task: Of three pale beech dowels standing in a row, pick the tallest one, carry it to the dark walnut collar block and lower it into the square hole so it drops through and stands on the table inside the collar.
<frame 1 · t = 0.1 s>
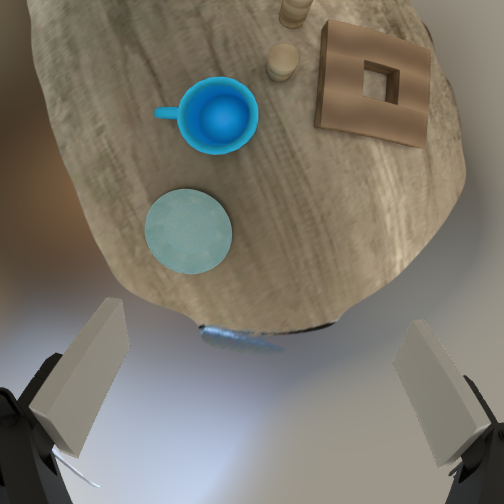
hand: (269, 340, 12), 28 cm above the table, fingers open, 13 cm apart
collar block: (370, 86, 32), on the table
saucer: (190, 228, 40), on the table
dowel mid: (279, 70, 32), on the table
mug: (210, 117, 34), on the table
dowel long: (291, 18, 29), on the table
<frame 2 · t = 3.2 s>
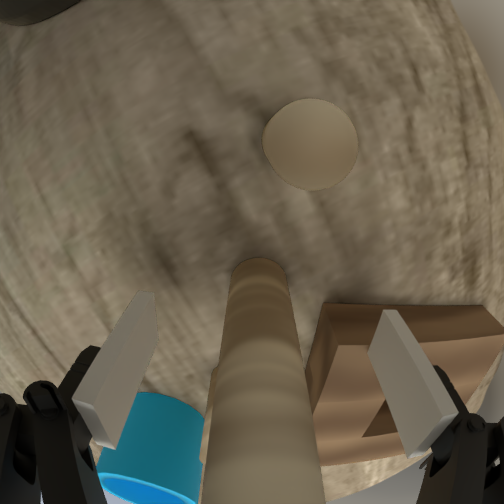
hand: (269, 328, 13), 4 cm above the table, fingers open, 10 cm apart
dowel short: (293, 140, 14), on the table
collar block: (385, 378, 20), on the table
dowel mid: (233, 378, 20), on the table
mug: (143, 414, 23), on the table
dowel long: (258, 283, 17), on the table
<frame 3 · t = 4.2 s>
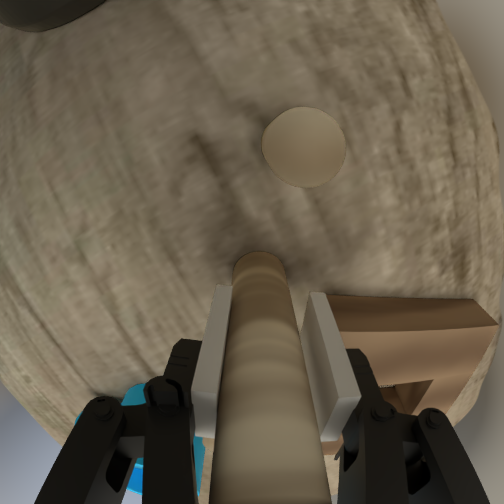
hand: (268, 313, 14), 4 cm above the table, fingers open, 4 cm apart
dowel short: (290, 143, 15), on the table
collar block: (380, 369, 22), on the table
mug: (147, 405, 24), on the table
dowel long: (258, 275, 18), on the table, touching gripper
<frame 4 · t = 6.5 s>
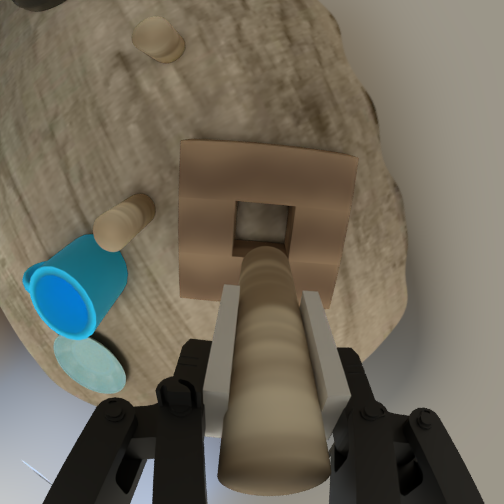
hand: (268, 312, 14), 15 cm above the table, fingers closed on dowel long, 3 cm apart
dowel short: (168, 48, 22), on the table
collar block: (262, 217, 28), on the table
saucer: (94, 355, 37), on the table
dowel mid: (140, 209, 28), on the table
mug: (84, 264, 31), on the table
dowel long: (265, 269, 19), point 10 cm above the table, touching gripper
when the fingers open (5 cm above the table, at t = 8.4 s): dowel long stays where it is, resting in collar block.
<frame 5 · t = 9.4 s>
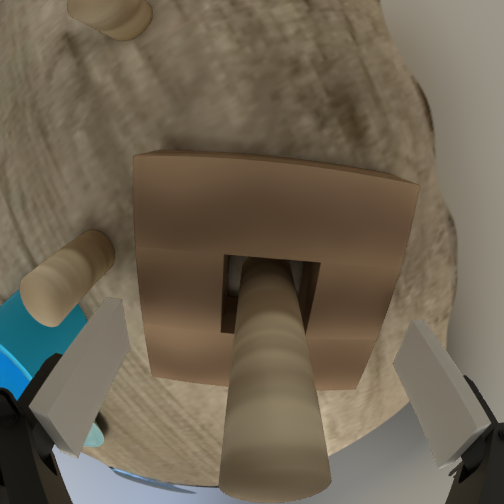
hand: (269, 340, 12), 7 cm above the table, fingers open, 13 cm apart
dowel short: (129, 19, 13), on the table
collar block: (266, 267, 19), on the table
saucer: (68, 406, 28), on the table
dowel mid: (95, 251, 19), on the table
mug: (40, 312, 22), on the table
dowel long: (266, 272, 19), resting in collar block
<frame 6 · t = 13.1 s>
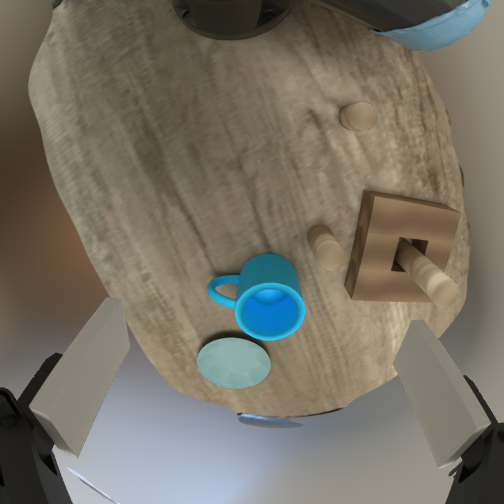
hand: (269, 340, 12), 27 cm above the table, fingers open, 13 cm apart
dowel short: (350, 117, 33), on the table
collar block: (398, 244, 39), on the table
saucer: (234, 355, 47), on the table
dowel mid: (319, 236, 39), on the table
mug: (254, 278, 42), on the table
dowel long: (397, 247, 39), resting in collar block
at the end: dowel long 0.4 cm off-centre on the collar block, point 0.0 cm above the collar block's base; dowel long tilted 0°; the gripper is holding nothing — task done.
